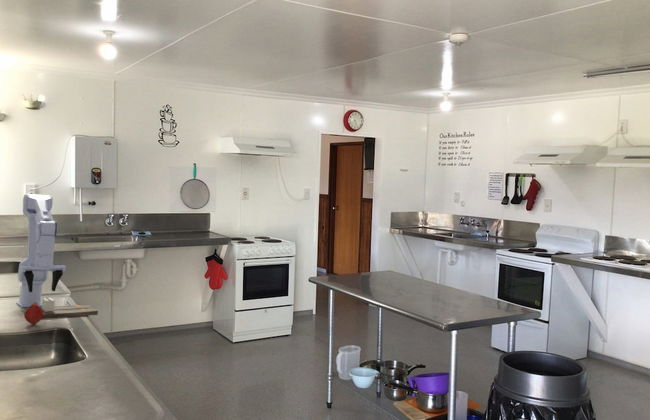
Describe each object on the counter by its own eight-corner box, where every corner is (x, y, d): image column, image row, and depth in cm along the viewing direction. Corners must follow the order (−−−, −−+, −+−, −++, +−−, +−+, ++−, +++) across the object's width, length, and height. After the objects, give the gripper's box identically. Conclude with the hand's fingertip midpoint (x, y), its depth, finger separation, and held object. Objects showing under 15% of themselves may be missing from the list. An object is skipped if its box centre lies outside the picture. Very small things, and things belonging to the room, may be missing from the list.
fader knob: (41, 308, 211) (42, 297, 211) (50, 308, 213) (50, 297, 213) (45, 311, 207) (46, 300, 207) (53, 311, 209) (54, 300, 209)
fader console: (30, 311, 212) (30, 307, 212) (87, 308, 225) (87, 304, 225) (38, 318, 203) (38, 314, 202) (97, 314, 216) (97, 310, 216)
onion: (21, 326, 191) (23, 303, 190) (26, 322, 196) (27, 300, 196) (40, 327, 192) (42, 304, 192) (44, 323, 198) (45, 300, 198)
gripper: (25, 255, 195) (22, 294, 195) (69, 255, 204) (66, 292, 205) (20, 252, 200) (17, 290, 201) (63, 252, 210) (60, 288, 210)
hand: (41, 291), depth 203 cm, fingers open, 7 cm apart
